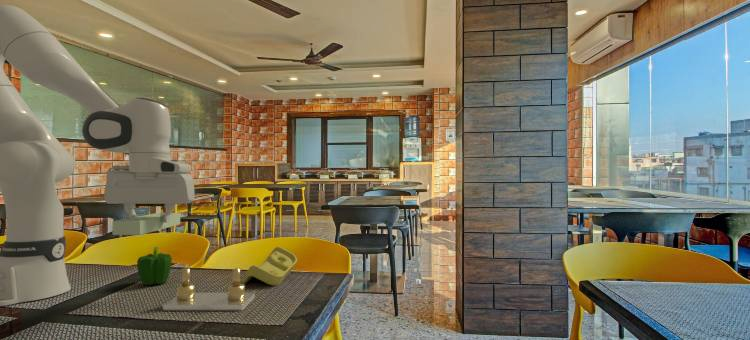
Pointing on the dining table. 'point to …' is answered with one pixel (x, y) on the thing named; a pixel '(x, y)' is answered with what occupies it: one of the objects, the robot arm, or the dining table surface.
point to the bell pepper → (154, 268)
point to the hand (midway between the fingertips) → (149, 222)
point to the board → (143, 224)
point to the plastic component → (272, 267)
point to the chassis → (209, 296)
